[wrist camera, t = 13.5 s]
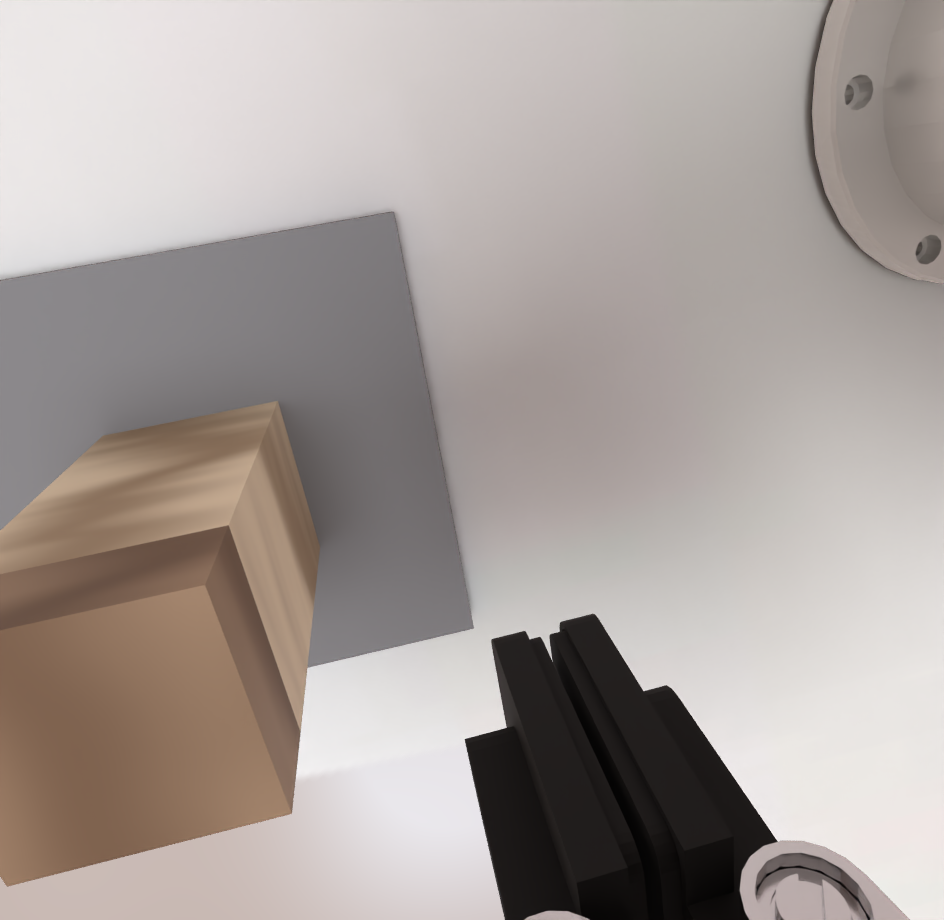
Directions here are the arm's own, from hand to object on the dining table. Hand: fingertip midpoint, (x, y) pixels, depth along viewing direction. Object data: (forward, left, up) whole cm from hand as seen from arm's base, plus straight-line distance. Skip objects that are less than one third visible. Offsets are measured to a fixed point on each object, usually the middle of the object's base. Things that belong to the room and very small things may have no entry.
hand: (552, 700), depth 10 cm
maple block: (+7, 0, -11) cm, 13 cm away
